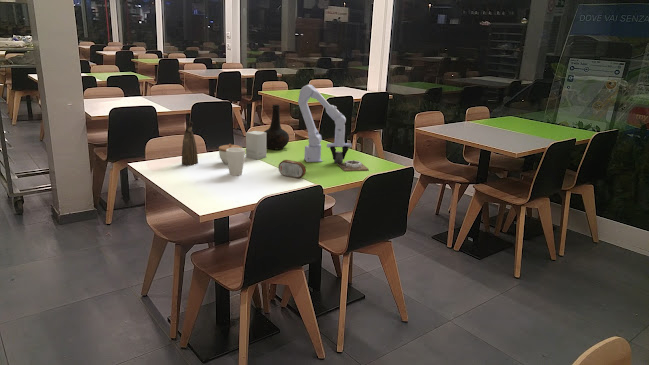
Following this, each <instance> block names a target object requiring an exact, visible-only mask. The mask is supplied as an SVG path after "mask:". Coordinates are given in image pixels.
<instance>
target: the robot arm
mask: <svg viewBox="0 0 649 365" xmlns="http://www.w3.org/2000/svg"><path fill="white" fill-rule="evenodd" d="M298 94H299V96H298V98H297V99H298V100H297V104H298V105H299V110H300V112H301V115H302V118H303V121H304V124H305V126H306V130H307V137H308V145H305V146H304V155H303V156H304V158H303V159H304V160H305V161H306V162H307V163H311V162H312V163H315V162H316V163H317V162H323V160H322V159H321V157H322V144H321V142H322V140H323V137H322V134H320V133H319V132H320V131H319V130H318V129H317V128H316V124H315V121H314V118H313V115H312V112H311V110H310V107H309V104H308V102H309V100H310V98H311V99H316V101H317V102H319V104H320V105H321V106H323V108H324V109H325V113H327V116H329V117H330V118H331V120H332V121H334V125H335V128H334V142H330V143H326V148H329V150H330V151H331V155H332V159H333V161H334V160H335V152H337V149H336V148H341V152H343V160H345V158H346V155H347V152H348V151H349V148H352V146H353V145H352V143H349V142H345V137H346V135H345V134H346V125H345V124H346V122H347V118H346V117H345V115H344V114H343V113H342V112H340V111H339V109H337V108H338V107H337V106H336V105H334V104H330V103H329V102H328V101H327V99H326V98H325V97H324V96H323V95H322V93H321V92H320V91H319V90H318V89H317V87H315V86H314V85H313V84H309V83H308V84H306V85H304V86H302V87H301V89H300V90H299V93H298Z"/></svg>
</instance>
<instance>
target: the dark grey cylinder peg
mask: <svg viewBox="0 0 649 365" xmlns="http://www.w3.org/2000/svg"><path fill="white" fill-rule="evenodd" d="M333 163H334V164H338V163H344V159H343V152H342V151H337V150H336V152H335V160H334V159H333Z"/></svg>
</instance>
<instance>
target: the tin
mask: <svg viewBox="0 0 649 365" xmlns="http://www.w3.org/2000/svg"><path fill="white" fill-rule="evenodd" d="M278 172H279V173H280V175H283V177H284V176H285V177H289V178H295V179H300V178H302V177H305V175H306V173H307V169H306V166H305V165H304V164H303V162H300V161H295V160H290V159H283V160H282V161H280V163H278Z"/></svg>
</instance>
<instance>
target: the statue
mask: <svg viewBox="0 0 649 365" xmlns="http://www.w3.org/2000/svg"><path fill="white" fill-rule="evenodd" d="M185 125H186V128H185V131H184V134H183V138H182V139H183V140H182V147H181V149H182V150H181V165H182V166H184V165H189V166H195V165H197V164H199V156H198V149H197V143H196V142H197V141H196V137H195V135H194V131H193V125H194V122H193V121H191V119H189V120H188V121H186V122H185ZM194 164H195V165H194Z"/></svg>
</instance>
